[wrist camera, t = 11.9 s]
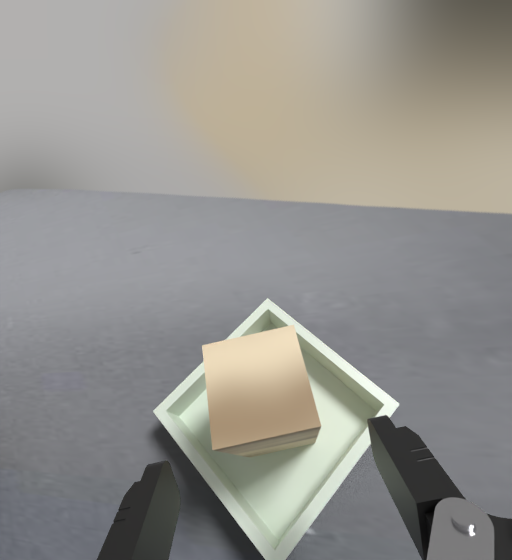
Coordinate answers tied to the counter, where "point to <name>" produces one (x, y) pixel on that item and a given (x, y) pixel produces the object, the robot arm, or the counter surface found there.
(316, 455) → the bin
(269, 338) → the beech block
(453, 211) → the counter surface
